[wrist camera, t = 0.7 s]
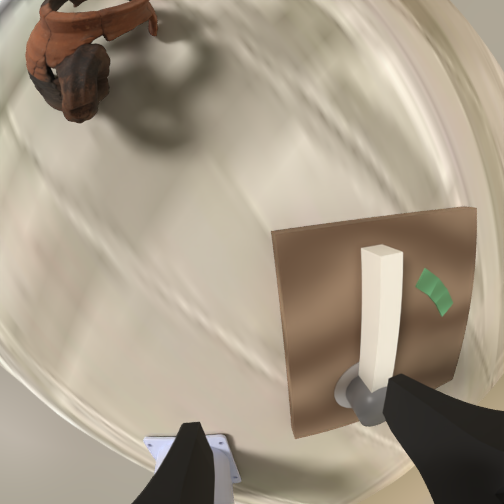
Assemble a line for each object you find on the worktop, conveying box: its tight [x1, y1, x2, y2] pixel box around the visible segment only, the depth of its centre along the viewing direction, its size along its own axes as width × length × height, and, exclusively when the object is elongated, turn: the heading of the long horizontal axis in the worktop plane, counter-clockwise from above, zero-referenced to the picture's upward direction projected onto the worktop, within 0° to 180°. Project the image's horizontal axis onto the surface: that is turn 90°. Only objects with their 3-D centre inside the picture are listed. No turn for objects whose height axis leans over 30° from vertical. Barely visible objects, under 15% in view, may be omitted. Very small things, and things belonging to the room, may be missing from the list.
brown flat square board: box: [271, 207, 477, 439], centre depth 19 cm, size 18×18×2 cm
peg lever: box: [346, 244, 403, 426], centre depth 16 cm, size 13×4×3 cm, turn 8°
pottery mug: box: [26, 0, 158, 123], centre depth 12 cm, size 12×10×8 cm
